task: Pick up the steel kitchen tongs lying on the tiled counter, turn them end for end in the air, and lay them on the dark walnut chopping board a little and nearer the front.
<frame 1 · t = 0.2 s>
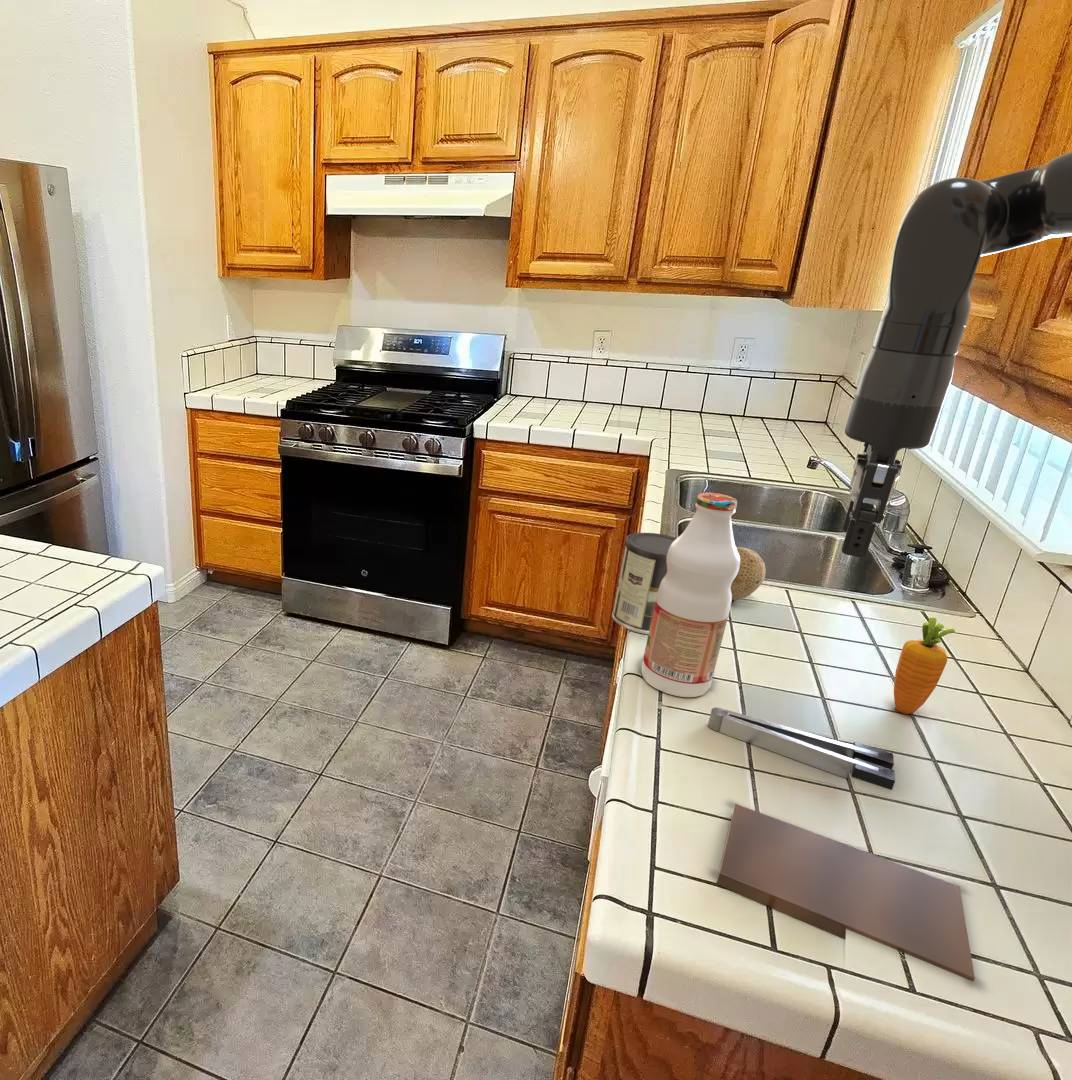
hand: (852, 543, 83), 29 cm above the countertop, tool pointing down, fingers open, 8 cm apart
fruit juice: (673, 682, 109), on the countertop
natural sponge: (728, 600, 137), on the countertop
carrot: (900, 718, 103), on the countertop
tongs: (716, 727, 99), on the countertop
coffee can: (642, 622, 127), on the countertop
board: (835, 891, 74), on the countertop
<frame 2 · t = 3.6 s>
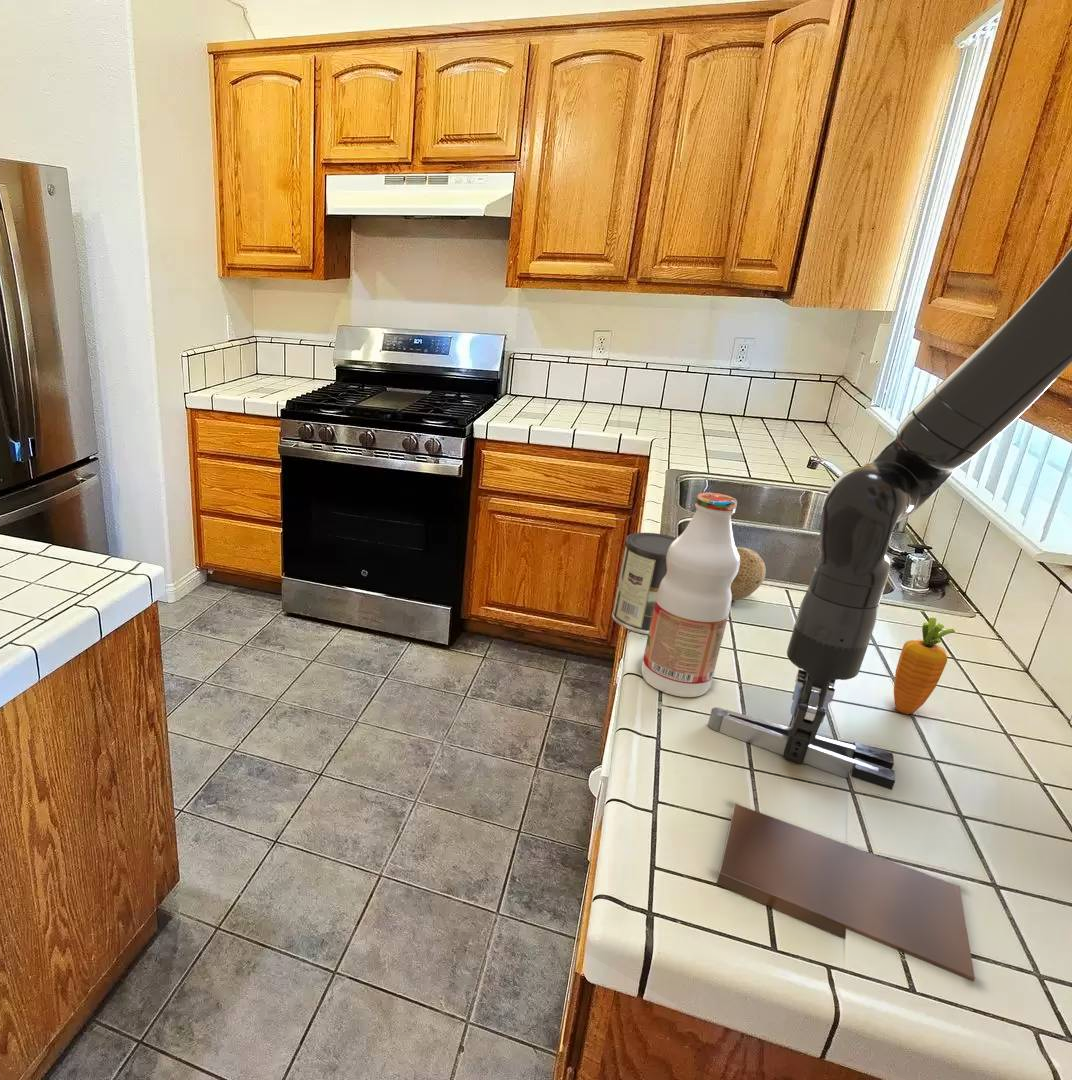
hand: (793, 750, 94), 0 cm above the countertop, tool pointing down, fingers closed on tongs, 3 cm apart
tongs: (715, 727, 99), on the countertop, touching gripper
everything else where it was.
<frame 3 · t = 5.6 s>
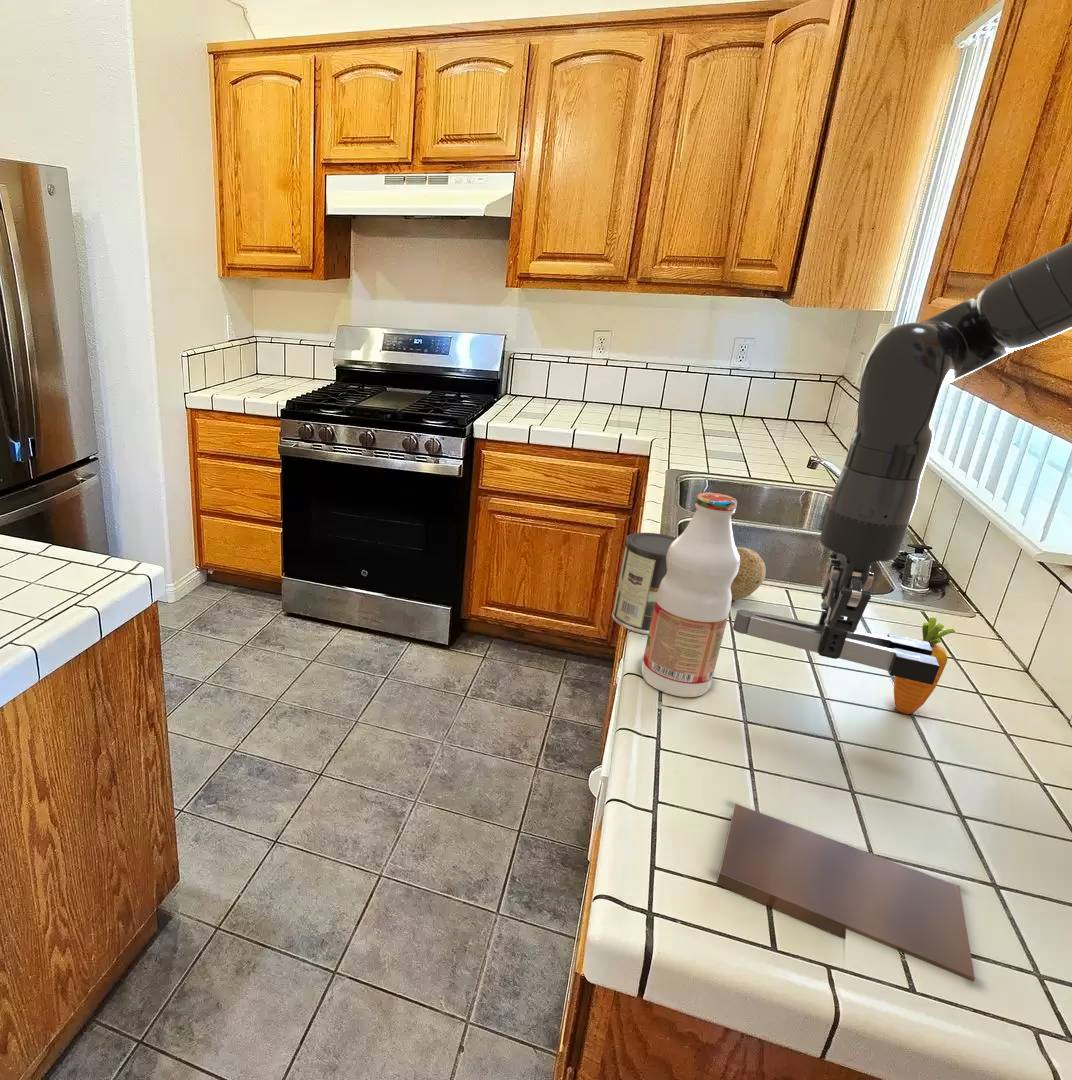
hand: (826, 647, 89), 15 cm above the countertop, tool pointing down, fingers closed on tongs, 3 cm apart
tongs: (741, 630, 92), point 15 cm above the countertop, touching gripper
everything else where it was.
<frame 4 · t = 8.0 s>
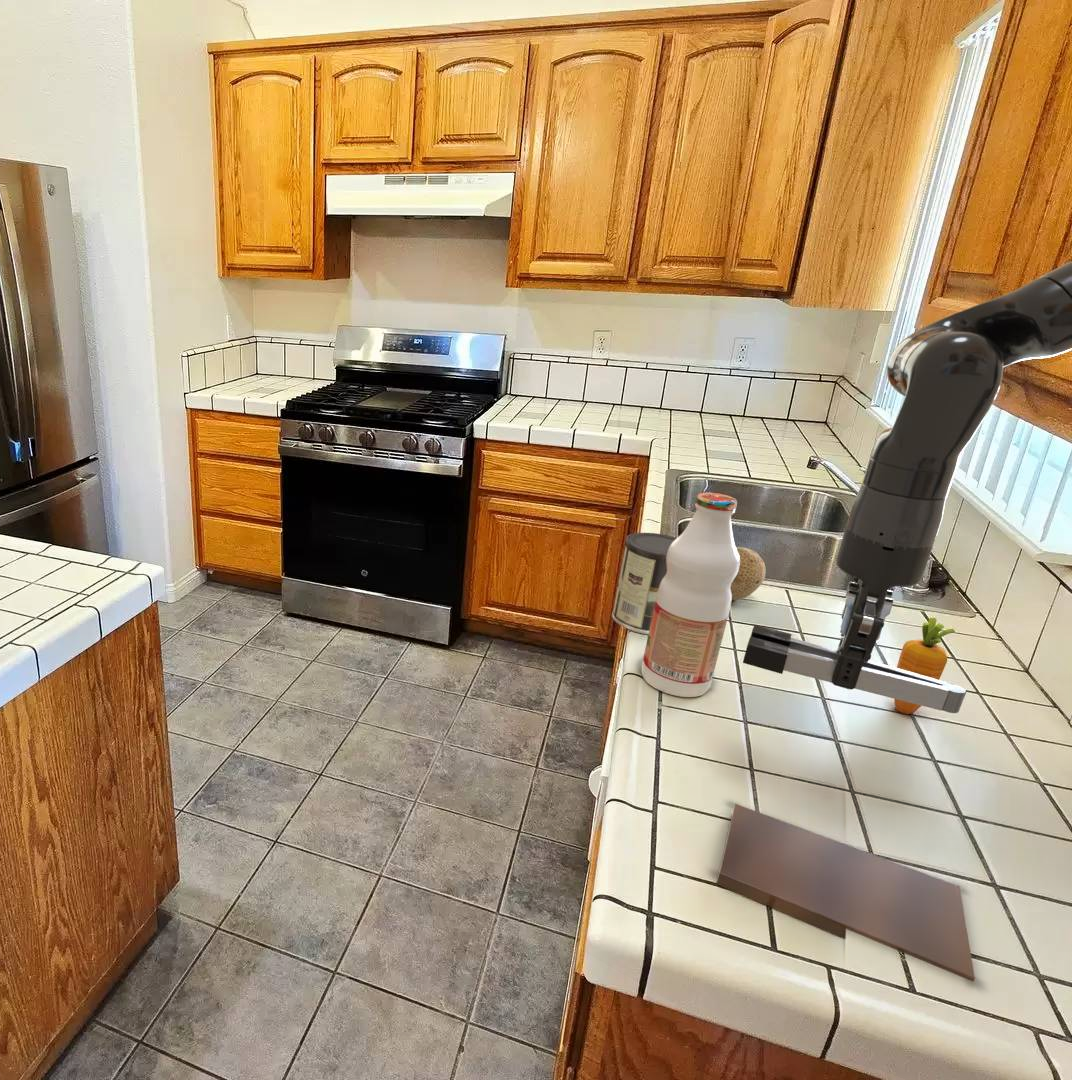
hand: (843, 677, 83), 15 cm above the countertop, tool pointing down, fingers closed on tongs, 3 cm apart
tongs: (946, 708, 78), point 15 cm above the countertop, touching gripper
everything else where it was.
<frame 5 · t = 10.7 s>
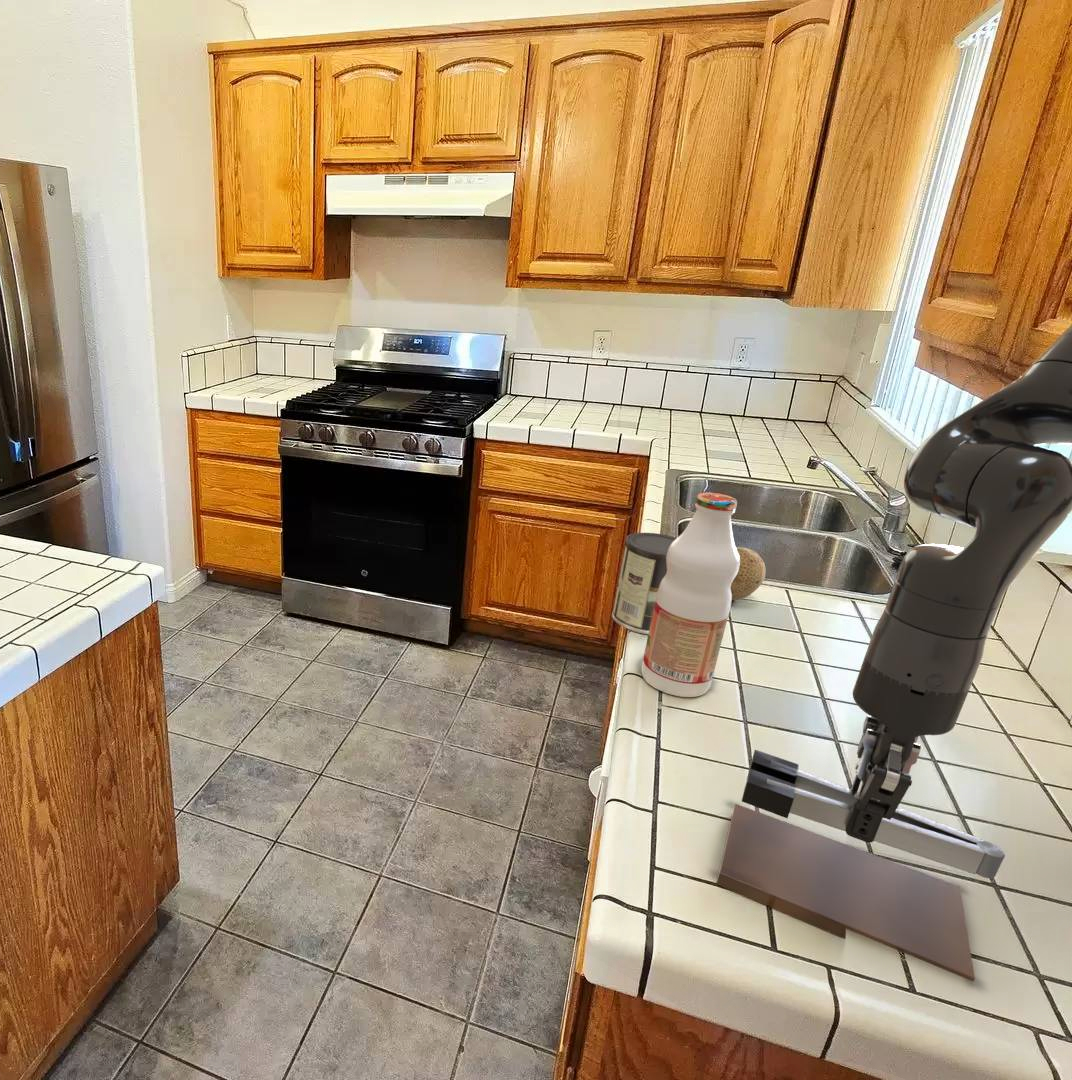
hand: (858, 823, 71), 8 cm above the countertop, tool pointing down, fingers closed on tongs, 3 cm apart
tongs: (980, 869, 66), point 8 cm above the countertop, touching gripper
everything else where it was.
when the fingers open (2 cm above the countertop, at t = 12.5 s): tongs stays where it is, resting on board.
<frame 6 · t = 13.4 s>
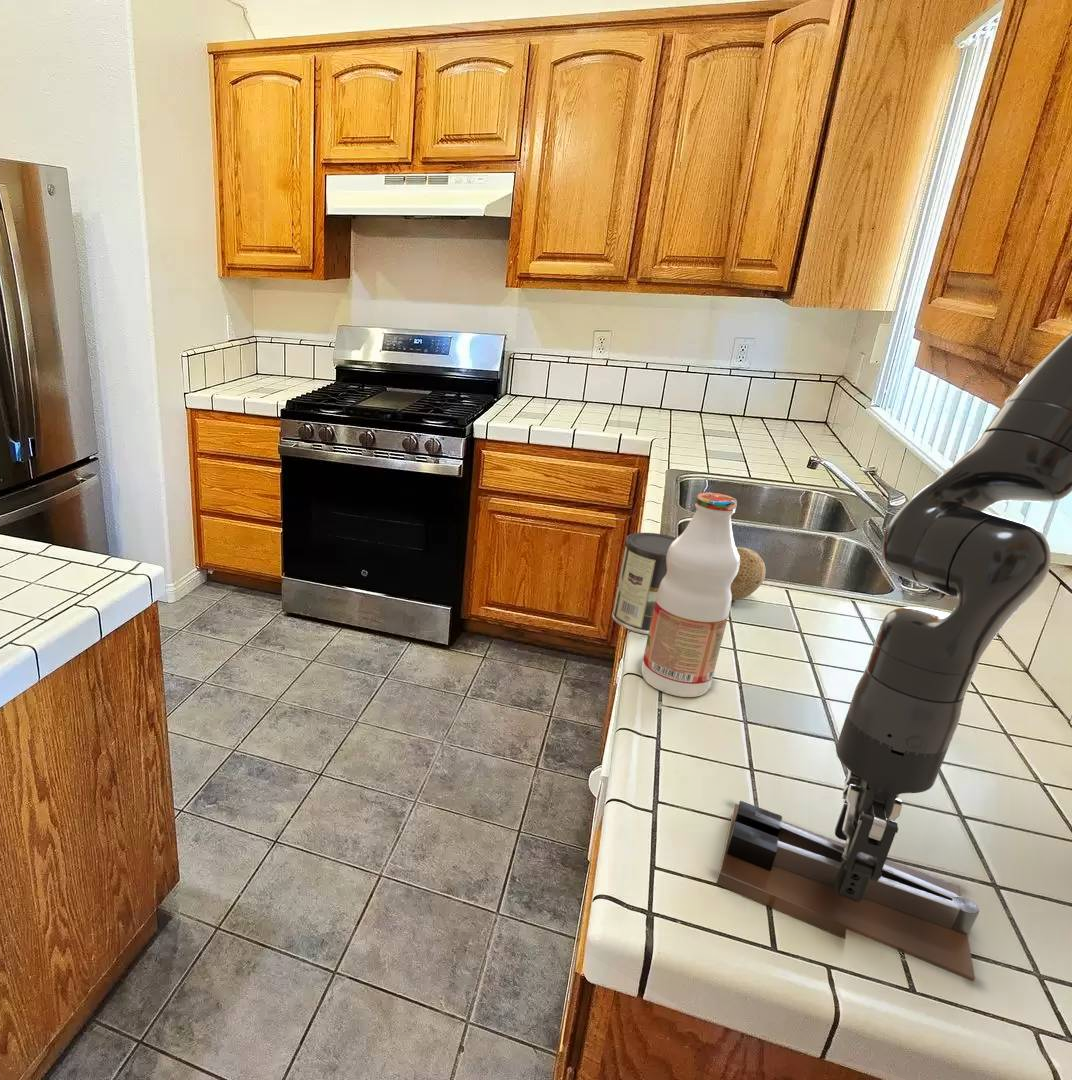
hand: (846, 866, 72), 3 cm above the countertop, tool pointing down, fingers open, 8 cm apart
tongs: (956, 924, 69), point 1 cm above the countertop, touching board
everything else where it was.
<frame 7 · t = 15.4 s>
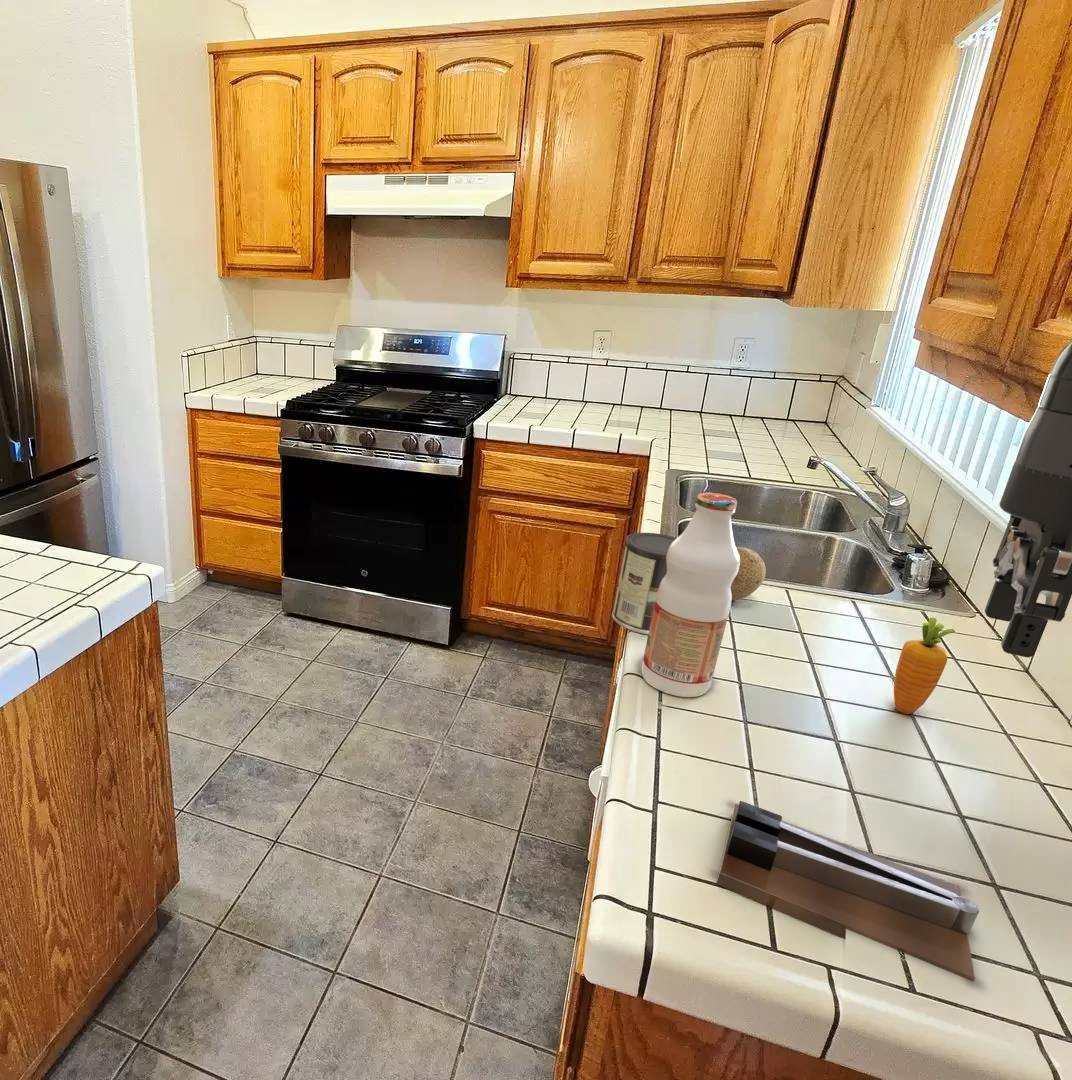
hand: (1006, 635, 70), 26 cm above the countertop, tool pointing down, fingers open, 8 cm apart
nothing on the countertop moved.
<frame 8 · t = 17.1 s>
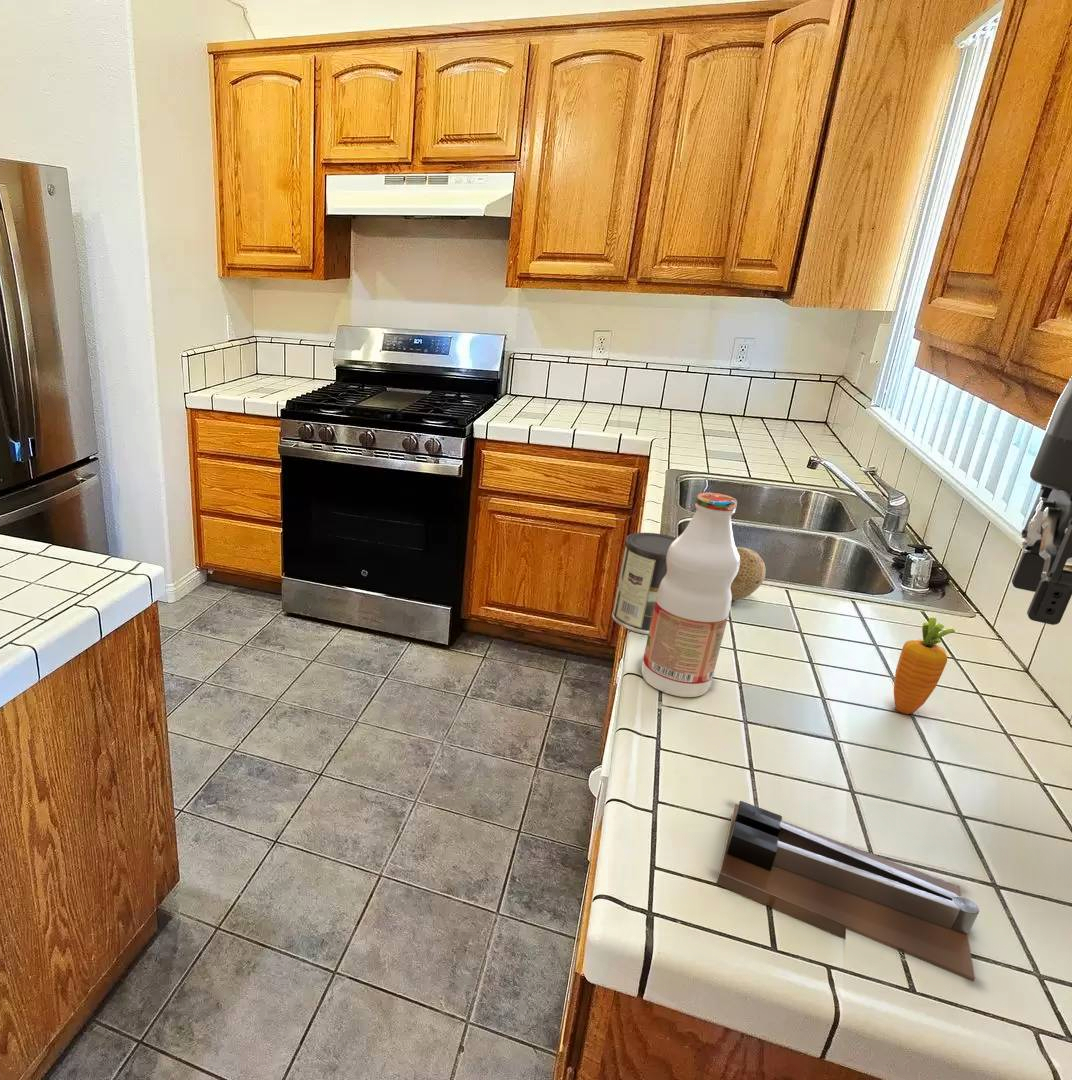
hand: (1032, 604, 71), 28 cm above the countertop, tool pointing down, fingers open, 8 cm apart
nothing on the countertop moved.
at the end: tongs inside the target area on the board (0.2 cm from its centre), point 1.5 cm above the board's base; tongs tilted 0°; the gripper is holding nothing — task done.
